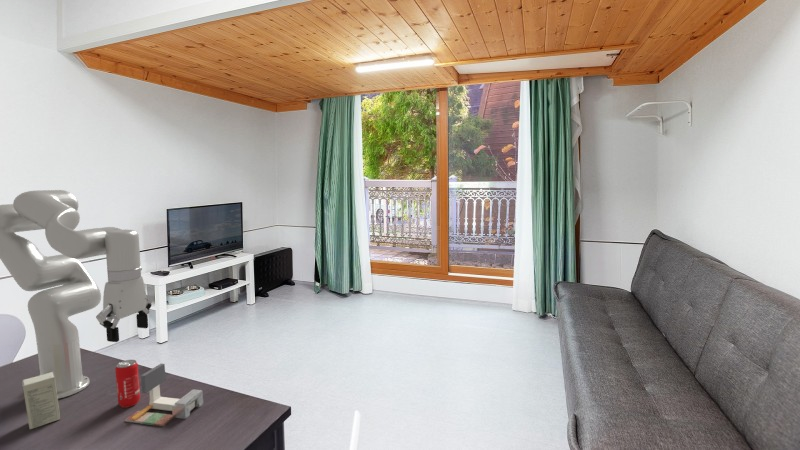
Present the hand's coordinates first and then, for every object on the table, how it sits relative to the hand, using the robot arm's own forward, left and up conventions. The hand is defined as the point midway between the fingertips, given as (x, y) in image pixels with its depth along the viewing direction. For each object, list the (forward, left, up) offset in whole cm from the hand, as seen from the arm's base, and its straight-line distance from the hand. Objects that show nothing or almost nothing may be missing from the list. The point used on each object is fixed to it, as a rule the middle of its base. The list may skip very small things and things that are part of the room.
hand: (128, 334), depth 110 cm
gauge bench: (+12, -2, -21) cm, 24 cm away
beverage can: (-1, 0, -21) cm, 21 cm away
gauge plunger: (+13, -2, -20) cm, 24 cm away
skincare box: (-16, -12, -21) cm, 29 cm away
